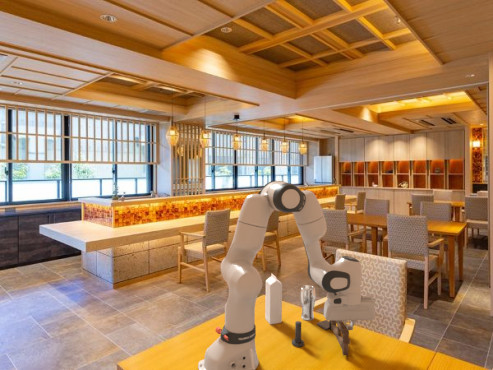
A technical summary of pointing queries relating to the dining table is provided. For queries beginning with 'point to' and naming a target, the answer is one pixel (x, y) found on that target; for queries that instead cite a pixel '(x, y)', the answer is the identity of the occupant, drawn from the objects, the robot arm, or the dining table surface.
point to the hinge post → (325, 324)
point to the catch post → (297, 335)
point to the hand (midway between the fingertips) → (348, 329)
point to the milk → (273, 300)
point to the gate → (343, 340)
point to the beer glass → (307, 302)
